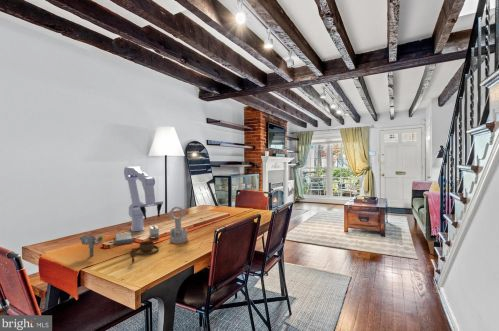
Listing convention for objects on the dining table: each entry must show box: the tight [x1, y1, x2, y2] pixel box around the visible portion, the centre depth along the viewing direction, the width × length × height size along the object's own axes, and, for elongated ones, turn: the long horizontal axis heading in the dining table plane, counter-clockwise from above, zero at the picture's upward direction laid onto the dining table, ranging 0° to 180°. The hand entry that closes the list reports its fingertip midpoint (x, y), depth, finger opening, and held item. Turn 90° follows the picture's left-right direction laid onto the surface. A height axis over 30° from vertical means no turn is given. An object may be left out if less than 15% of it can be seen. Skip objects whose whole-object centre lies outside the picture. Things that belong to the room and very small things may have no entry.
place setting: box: [129, 240, 160, 264], centre depth 131 cm, size 18×20×6 cm
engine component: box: [169, 205, 188, 244], centre depth 153 cm, size 11×20×10 cm
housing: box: [148, 224, 160, 239], centre depth 159 cm, size 8×4×7 cm, turn 28°
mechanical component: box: [79, 234, 103, 258], centre depth 126 cm, size 3×10×10 cm, turn 89°
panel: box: [114, 231, 134, 246], centre depth 151 cm, size 14×9×2 cm, turn 28°
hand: (152, 217), depth 157 cm, fingers open, 7 cm apart
